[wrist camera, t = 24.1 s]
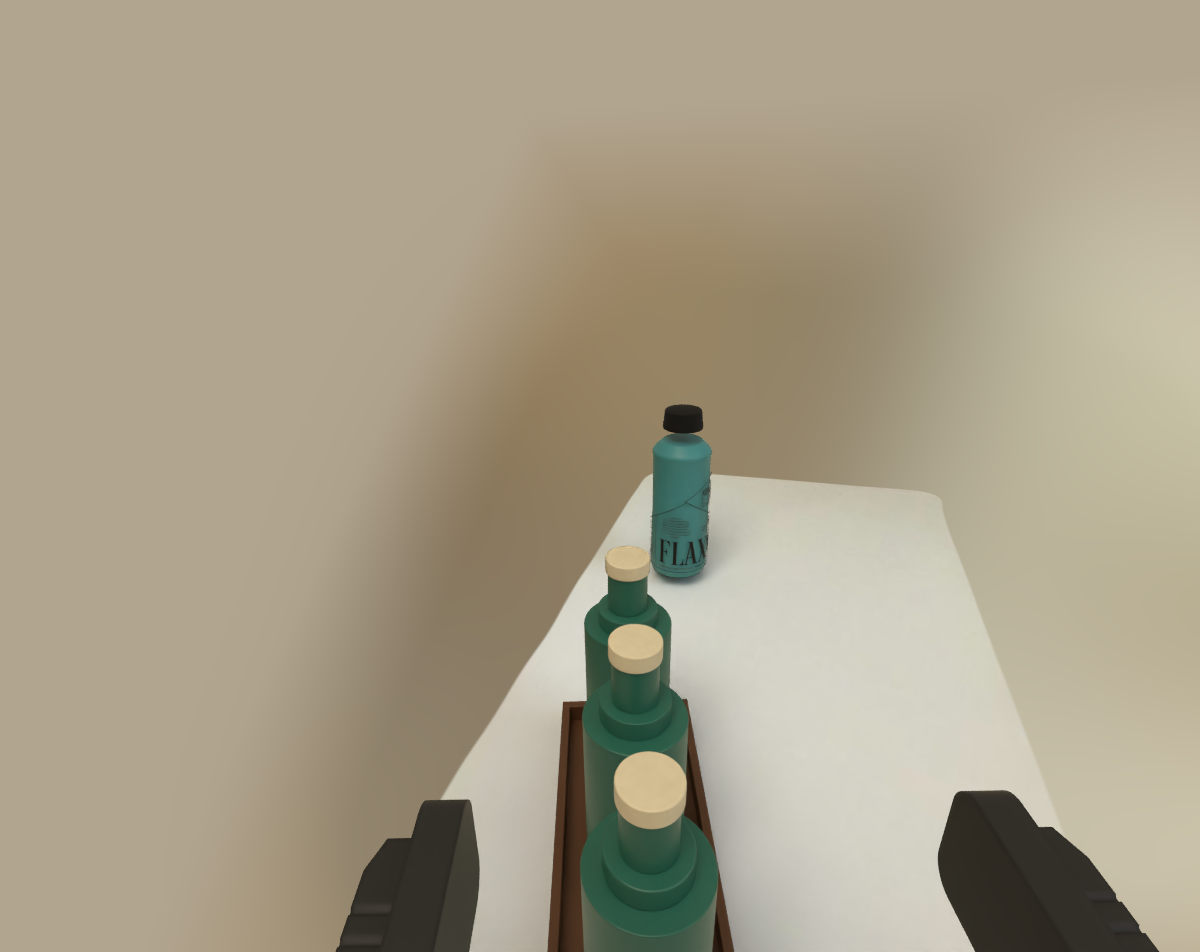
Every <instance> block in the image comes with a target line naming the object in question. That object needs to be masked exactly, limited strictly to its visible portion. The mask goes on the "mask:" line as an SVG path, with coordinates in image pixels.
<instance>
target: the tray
mask: <svg viewBox="0 0 1200 952" xmlns="http://www.w3.org/2000/svg"><path fill="white" fill-rule="evenodd" d="M682 700H683V702H684V704H685V706H686V708H687V711H688V717H689V724H688V744H687V765H686V780H687V792H686V805H685V808H684V816H685V817H687V818H688V819H689V820H691V821H692V822H693V823H694V824H695V825H697V827H698V828H699V829H700V830H701V831H702V832H703V833H704V835H705V836H706V838H707V839H708V841H709V843H710V845H711V846H712V849H713V851H714V854H715V857H716V852H715V847H714V842H713V836H712V831H711V825H710V820H709V815H708V809H707V804H706V799H705V793H704V788H703V783H702V777H701V772H700V767H699V761H698V756H697V750H696V745H695V740H694V734H693V729H692V724H691V718H690V713H689V708H688V702H687V699H682ZM585 703H586V701H577V702H563V711H562V727H561V744H560V760H559V776H558V792H557V808H556V824H555V840H554V856H553V873H552V889H551V905H550V921H549V937H548V952H584V941H583V919H582V898H581V876H580V861H581V855H582V851H583V847H584V845H585V842H586V840H587V826H586V800H585V774H584V749H583V723H582V713H583V708H584V705H585ZM716 861H717V858H716ZM717 866H718V863H717ZM712 952H734V949H733V943H732V938H731V933H730V927H729V922H728V917H727V911H726V906H725V900H724V895H723V890H722V884H721V879H720V874H719V868H718V888H717V900H716V912H715V924H714V936H713V948H712Z"/></svg>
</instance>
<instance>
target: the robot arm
mask: <svg viewBox="0 0 1200 952" xmlns="http://www.w3.org/2000/svg"><path fill="white" fill-rule="evenodd" d="M938 867H939V873H940V877H941V881H942V884H943V887H944V890H945V893H946V895H947V897H948V899H949V901H950V903H951V905H952V907H953V909H954V911H955V913H956V915H957V917H958V919H959V921H960V923H961V925H962V926H963V928H964V930H965V932H966V934H967V936H968V938H969V940H970V942H971V944H972V946H973V948H974V950H975V952H1159V951H1158V950H1157V948H1156V947H1155V946H1154V944H1153V943H1152V942H1151V940H1150V939H1149V938H1148V936H1147V935H1146V934H1145V933H1142V932H1141V931H1140V929H1139V924H1138V923H1137V922H1136V920H1135V919H1134V918H1133V916H1132V915H1131V914H1130V912H1129V911H1128V910H1127V908H1126V907H1125V906H1124V904H1123V903H1122V902H1119V901H1118V900H1117V899H1116V894H1115V893H1114V891H1113V890H1112V889H1111V887H1110V886H1109V885H1108V883H1107V882H1106V881H1105V879H1104V878H1103V877H1102V875H1101V874H1100V873H1099V871H1098V870H1097V869H1096V867H1095V866H1094V865H1093V863H1092V862H1091V861H1090V859H1089V858H1088V857H1087V856H1086V855H1084V854H1083V853H1082V852H1081V851H1080V850H1079V849H1077V848H1076V847H1075V846H1074V845H1073V844H1071V843H1070V842H1069V841H1068V840H1067V839H1066V838H1064V837H1063V836H1062V835H1061V834H1060V833H1058V832H1057V831H1056V830H1055V829H1054V828H1053V827H1038V826H1037V824H1036V823H1035V821H1034V820H1033V819H1032V817H1031V816H1030V814H1029V813H1028V812H1027V810H1026V809H1025V807H1024V806H1023V804H1022V803H1021V802H1020V801H1019V799H1018V798H1017V797H1016V796H1015V795H1013V794H1012V793H1011V792H1009V791H1005V790H999V791H960V792H958V793H956V795H955V796H954V799H953V802H952V806H951V809H950V813H949V816H948V820H947V823H946V827H945V830H944V834H943V837H942V841H941V844H940V848H939V852H938ZM479 872H480V869H479V855H478V848H477V841H476V834H475V827H474V819H473V812H472V806H471V802H470V800H427V801H424V802H423V804H422V805H421V808H420V811H419V813H418V817H417V820H416V824H415V827H414V831H413V834H412V837H411V838H399V839H398V838H397V839H387V840H386V841H385V843H384V844H383V846H382V847H381V848H380V849H379V851H378V852H377V854H376V855H375V856H374V858H373V859H372V860H371V861H370V863H369V864H368V866H367V867H366V868H365V870H364V871H363V874H362V877H361V880H360V883H359V886H358V889H357V892H356V894H355V898H354V900H353V903H352V906H351V913H350V915H348V918H347V920H346V924H345V926H344V929H343V932H342V935H341V938H340V945H339V947H337V949H336V952H469V949H470V943H471V937H472V931H473V925H474V919H475V913H476V907H477V900H478V891H479Z"/></svg>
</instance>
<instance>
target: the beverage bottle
mask: <svg viewBox="0 0 1200 952" xmlns="http://www.w3.org/2000/svg"><path fill="white" fill-rule="evenodd" d="M702 418H703V417H702V409H701V408H699V407H697V406H693V405H673V406H669V407H667V408H666V409H665V416H664V421H663V427H664V429H665V430H667V431H669V432H673V433H675V434H670V435H667V436H665V437H664V438H662V439H661V440H660V441H659V442H657V443H656V445H655V446H654V447H653V511H652V516H651V517H652V527H651V528H652V533H651V534H652V537H651V540H650V541H651V548H650V549H651V550H650V551H651V552H650V553H651V555H650V556H651V557H650V558H651V560H650V561H651V562H652V565H653V567H654V569H655V570H656V571H658V572H659V573H661V574H663V575H666V576H670V577H677V578H682V577H690V576H693V575H696V574H698V573H699V572H701V571H702V569H703V567H704V565H705V564H706V563H705V561H706V560H705V558H706V554H707V553H706V550H707V549H706V546H708V537H707V530H708V529H707V527H708V526H707V524H708V523H707V522H709V521H708V520H709V519H708V517H709V516H708V513H709V512H708V502H709V499H710V497H709V495H710V494H709V493H710V492H711V491H710V490H711V488H710V487H709V484H711V480H710V475H711V474H710V459H711V454H712V450H711V447H710V446H709V445H708V444H707V443H706V442H705V441H704V440H703V439H702V438H701V437H699V436H697V435H694V434H689V433H695V432H699V431H701V430H702V429H703V421H702V420H703V419H702ZM709 488H710V489H709ZM709 503H710V502H709ZM650 524H651V522H650ZM706 543H707V545H706Z"/></svg>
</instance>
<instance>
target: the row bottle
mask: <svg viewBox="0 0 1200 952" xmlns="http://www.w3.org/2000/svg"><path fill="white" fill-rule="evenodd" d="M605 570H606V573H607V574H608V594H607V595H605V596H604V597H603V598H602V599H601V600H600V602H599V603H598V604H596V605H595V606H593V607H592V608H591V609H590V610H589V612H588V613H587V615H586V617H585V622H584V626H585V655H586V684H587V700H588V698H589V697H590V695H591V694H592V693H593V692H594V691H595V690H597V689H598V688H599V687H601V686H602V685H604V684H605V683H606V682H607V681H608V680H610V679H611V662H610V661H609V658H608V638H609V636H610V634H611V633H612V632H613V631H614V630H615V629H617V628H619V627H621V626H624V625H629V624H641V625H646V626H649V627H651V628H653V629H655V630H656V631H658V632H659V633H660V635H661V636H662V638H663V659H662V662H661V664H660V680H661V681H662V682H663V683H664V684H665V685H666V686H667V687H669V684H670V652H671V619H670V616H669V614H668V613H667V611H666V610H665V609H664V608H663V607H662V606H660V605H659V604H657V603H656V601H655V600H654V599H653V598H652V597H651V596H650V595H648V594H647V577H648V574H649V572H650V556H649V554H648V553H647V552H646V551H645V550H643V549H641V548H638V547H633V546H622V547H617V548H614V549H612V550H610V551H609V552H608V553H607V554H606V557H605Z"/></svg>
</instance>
